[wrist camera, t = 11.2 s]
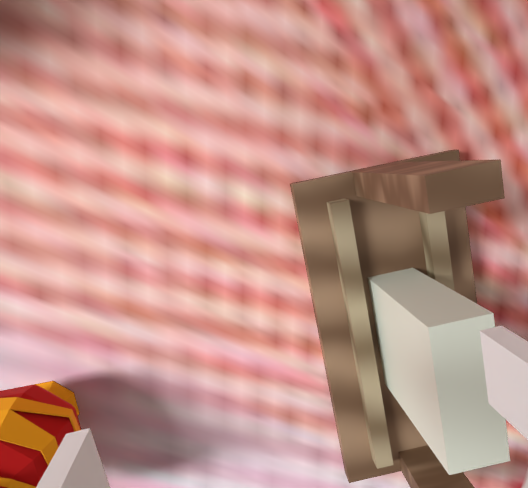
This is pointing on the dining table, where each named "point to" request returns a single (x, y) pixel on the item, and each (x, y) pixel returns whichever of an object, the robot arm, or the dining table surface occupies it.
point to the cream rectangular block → (438, 367)
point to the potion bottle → (33, 430)
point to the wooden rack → (358, 293)
